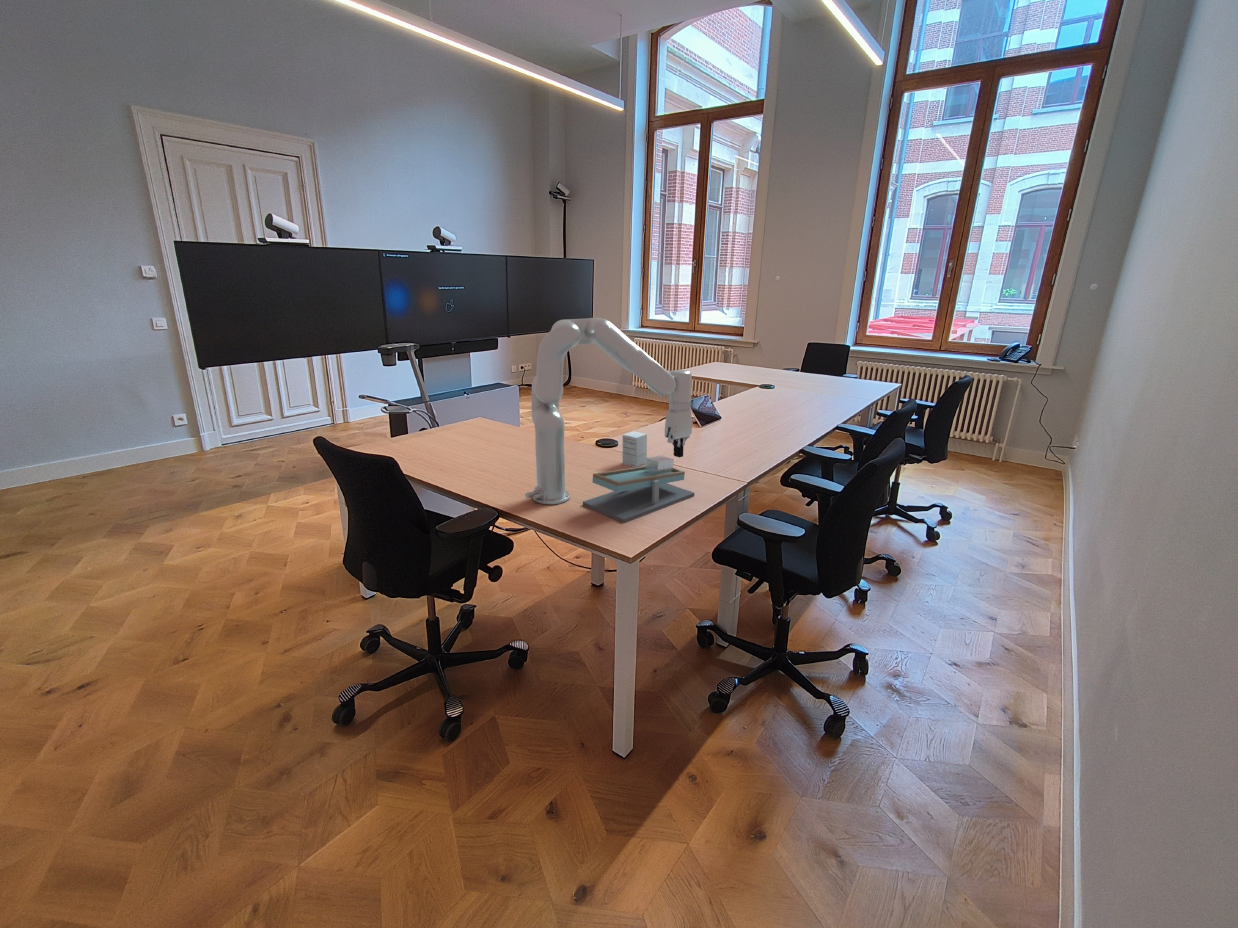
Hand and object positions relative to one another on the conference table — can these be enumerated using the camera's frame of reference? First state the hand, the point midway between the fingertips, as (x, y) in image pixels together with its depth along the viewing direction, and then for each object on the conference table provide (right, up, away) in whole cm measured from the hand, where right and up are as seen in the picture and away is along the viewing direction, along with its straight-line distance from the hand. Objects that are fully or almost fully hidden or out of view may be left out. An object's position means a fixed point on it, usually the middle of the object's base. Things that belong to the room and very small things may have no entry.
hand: (678, 456), depth 200 cm
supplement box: (-15, -3, +30) cm, 33 cm away
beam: (-14, -8, -11) cm, 20 cm away
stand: (-14, -15, -9) cm, 23 cm away
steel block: (-8, -6, -5) cm, 11 cm away
